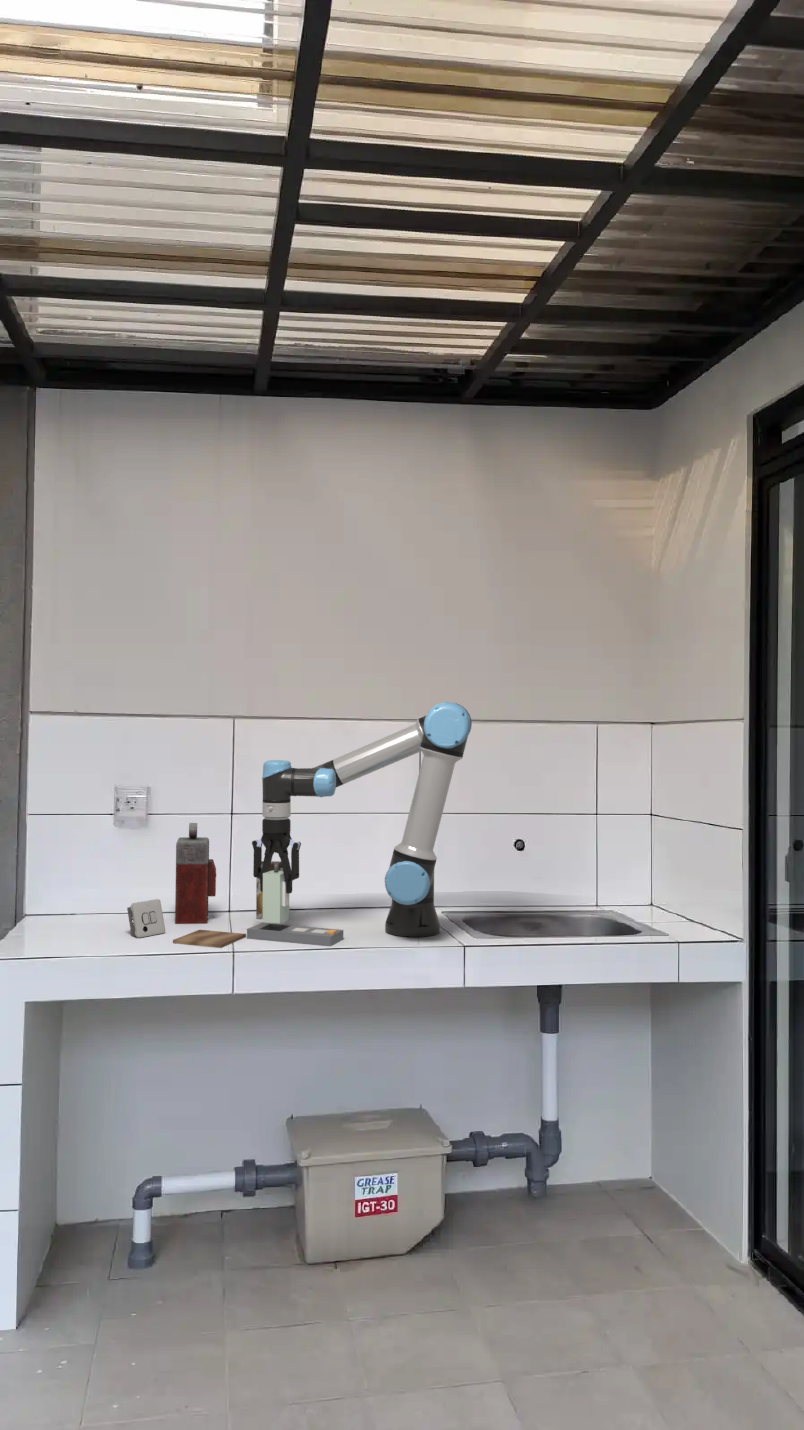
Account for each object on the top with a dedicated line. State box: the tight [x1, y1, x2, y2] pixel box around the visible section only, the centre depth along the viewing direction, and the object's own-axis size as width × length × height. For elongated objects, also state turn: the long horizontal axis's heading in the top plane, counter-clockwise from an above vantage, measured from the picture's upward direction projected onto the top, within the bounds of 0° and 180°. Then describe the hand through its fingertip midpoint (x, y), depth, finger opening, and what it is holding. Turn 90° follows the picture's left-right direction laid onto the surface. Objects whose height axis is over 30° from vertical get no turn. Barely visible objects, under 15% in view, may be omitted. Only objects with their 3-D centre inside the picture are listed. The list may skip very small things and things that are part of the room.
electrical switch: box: [126, 898, 166, 939], centre depth 293 cm, size 9×5×9 cm, turn 141°
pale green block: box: [262, 863, 290, 924], centre depth 292 cm, size 5×6×15 cm
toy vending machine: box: [174, 822, 217, 925], centre depth 312 cm, size 9×11×28 cm
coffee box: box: [255, 860, 283, 920], centre depth 319 cm, size 9×6×16 cm
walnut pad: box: [172, 929, 247, 949], centre depth 288 cm, size 14×14×1 cm
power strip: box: [246, 922, 344, 947], centre depth 291 cm, size 24×9×3 cm, turn 71°
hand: (276, 904), depth 292 cm, fingers closed on pale green block, 5 cm apart
